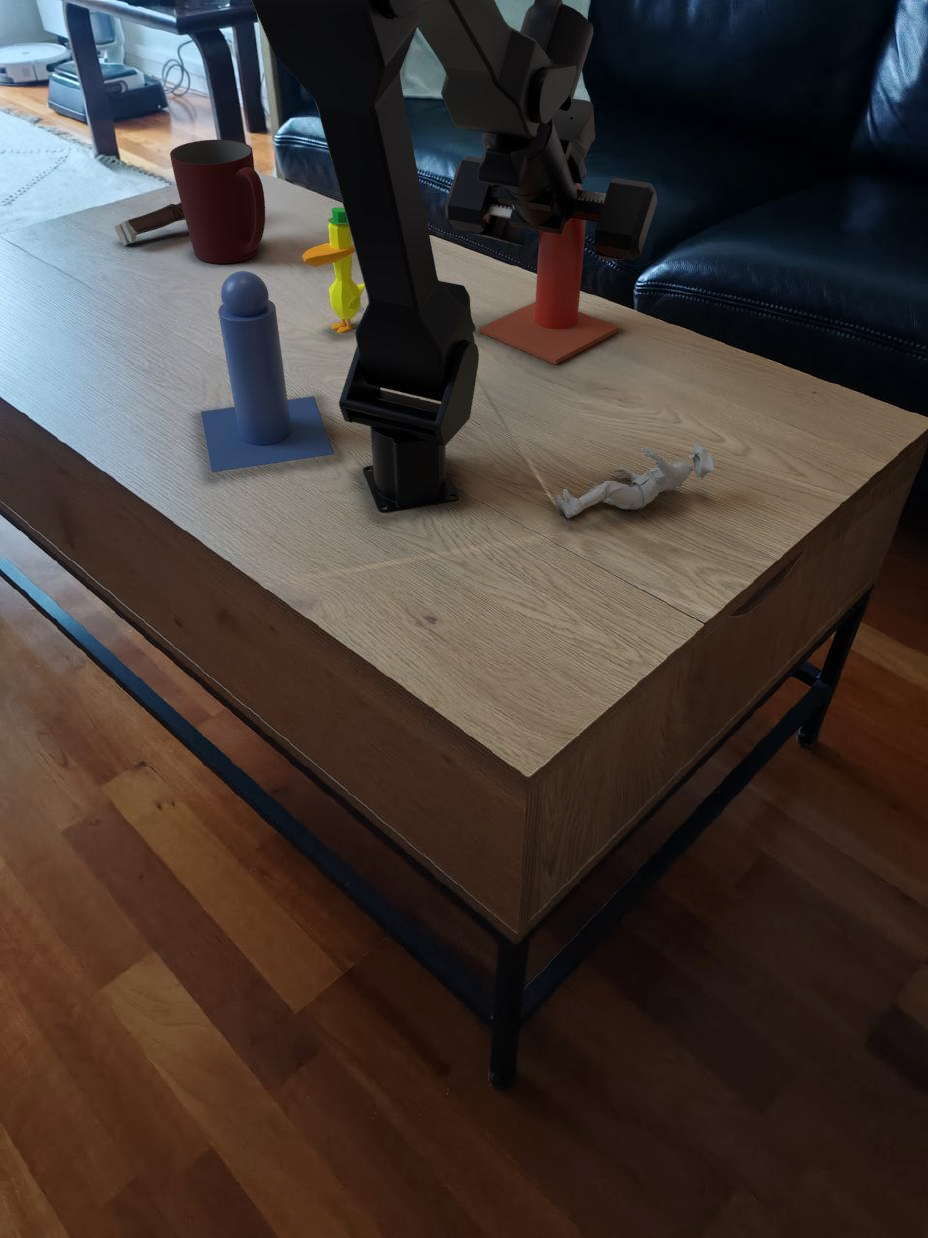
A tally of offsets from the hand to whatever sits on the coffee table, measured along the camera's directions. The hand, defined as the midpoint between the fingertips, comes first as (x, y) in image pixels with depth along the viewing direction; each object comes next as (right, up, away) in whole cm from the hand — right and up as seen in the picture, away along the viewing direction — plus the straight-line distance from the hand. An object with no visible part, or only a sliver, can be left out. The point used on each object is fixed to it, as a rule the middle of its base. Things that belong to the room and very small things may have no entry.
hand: (566, 248), depth 96 cm
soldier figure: (+3, -28, -20) cm, 34 cm away
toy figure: (-22, -8, +2) cm, 24 cm away
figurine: (-44, +10, +22) cm, 50 cm away
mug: (-37, +6, +17) cm, 41 cm away
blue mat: (-27, -21, -13) cm, 37 cm away
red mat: (-1, -8, +2) cm, 8 cm away
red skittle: (-1, -6, +3) cm, 7 cm away
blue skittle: (-27, -21, -13) cm, 36 cm away
